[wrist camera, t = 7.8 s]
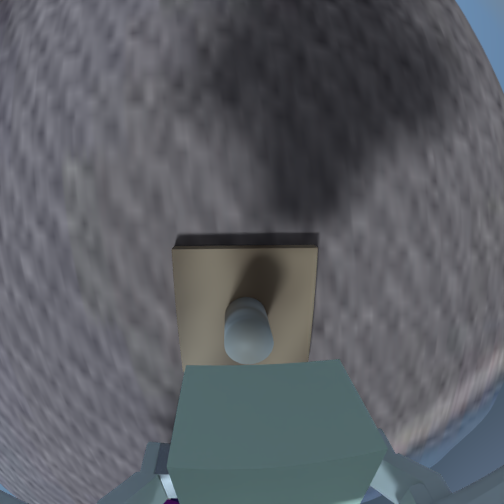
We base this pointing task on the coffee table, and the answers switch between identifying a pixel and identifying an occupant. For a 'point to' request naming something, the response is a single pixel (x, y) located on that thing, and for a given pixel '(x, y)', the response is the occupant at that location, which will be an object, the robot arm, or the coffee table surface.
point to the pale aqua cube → (272, 436)
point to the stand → (244, 303)
